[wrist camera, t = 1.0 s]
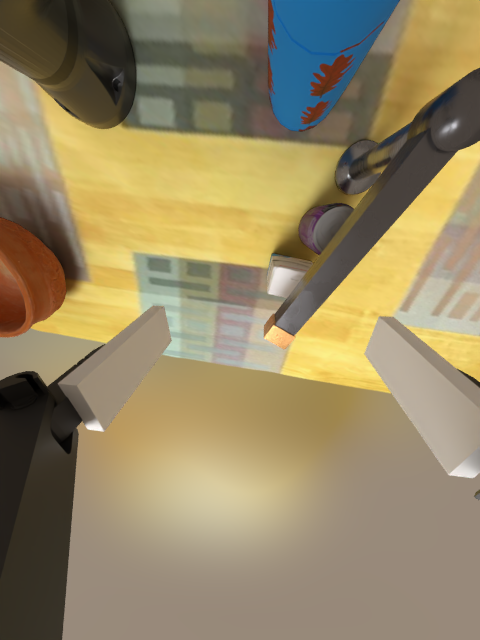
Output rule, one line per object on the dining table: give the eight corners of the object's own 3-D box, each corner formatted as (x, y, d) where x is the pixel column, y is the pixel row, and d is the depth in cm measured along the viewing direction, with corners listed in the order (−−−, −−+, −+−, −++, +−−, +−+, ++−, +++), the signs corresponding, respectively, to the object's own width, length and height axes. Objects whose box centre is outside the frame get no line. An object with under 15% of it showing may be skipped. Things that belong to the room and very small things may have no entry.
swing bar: (439, 82, 16) (483, 47, 13) (476, 115, 16) (527, 90, 13) (261, 323, 29) (260, 337, 26) (285, 337, 30) (287, 352, 26)
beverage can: (344, 227, 36) (376, 232, 26) (312, 255, 39) (328, 269, 29) (322, 196, 34) (346, 188, 24) (290, 227, 37) (299, 232, 27)
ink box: (266, 275, 42) (265, 294, 32) (272, 252, 40) (273, 265, 30) (304, 283, 42) (316, 305, 32) (312, 260, 40) (328, 276, 29)
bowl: (-12, 266, 50) (-110, 284, 37) (-2, 176, 40) (-136, 157, 26) (76, 324, 56) (18, 357, 43) (106, 260, 45) (41, 278, 32)
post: (335, 148, 31) (394, 90, 17) (384, 136, 30) (494, 60, 15) (334, 198, 34) (382, 186, 20) (378, 189, 33) (464, 168, 18)
